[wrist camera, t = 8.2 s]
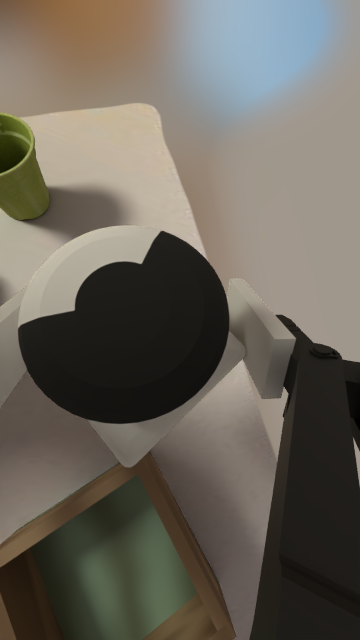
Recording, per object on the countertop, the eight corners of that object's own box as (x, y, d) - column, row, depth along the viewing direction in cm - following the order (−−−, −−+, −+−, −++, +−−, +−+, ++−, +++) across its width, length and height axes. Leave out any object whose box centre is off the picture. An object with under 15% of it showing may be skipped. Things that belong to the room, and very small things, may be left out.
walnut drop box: (81, 698, 22) (52, 802, 16) (16, 530, 25) (-26, 567, 19) (219, 583, 25) (236, 636, 19) (146, 445, 28) (142, 455, 22)
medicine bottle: (219, 370, 19) (309, 315, 7) (140, 446, 17) (96, 533, 5) (152, 299, 20) (140, 157, 9) (72, 362, 18) (-78, 290, 7)
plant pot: (-25, 209, 35) (-82, 150, 27) (24, 165, 38) (-14, 99, 30) (30, 243, 34) (-12, 193, 26) (76, 195, 37) (52, 136, 29)
